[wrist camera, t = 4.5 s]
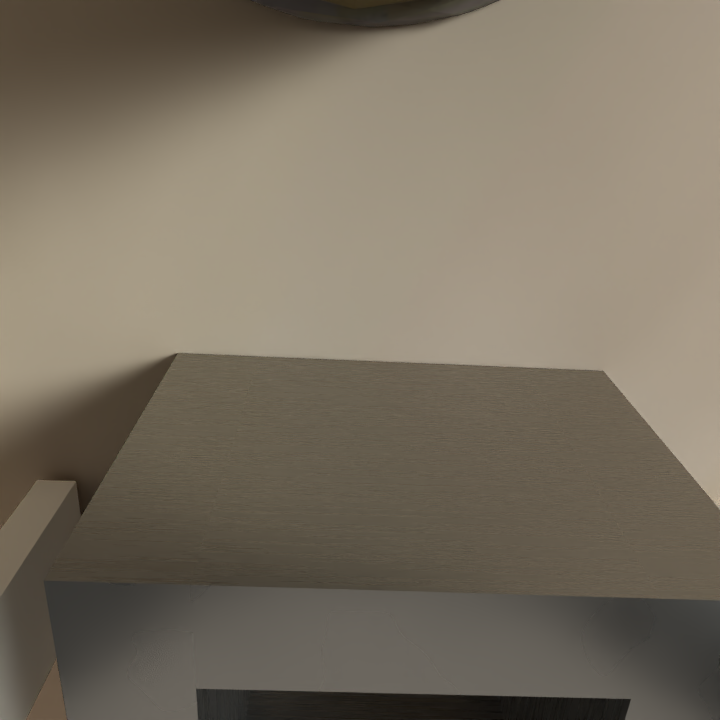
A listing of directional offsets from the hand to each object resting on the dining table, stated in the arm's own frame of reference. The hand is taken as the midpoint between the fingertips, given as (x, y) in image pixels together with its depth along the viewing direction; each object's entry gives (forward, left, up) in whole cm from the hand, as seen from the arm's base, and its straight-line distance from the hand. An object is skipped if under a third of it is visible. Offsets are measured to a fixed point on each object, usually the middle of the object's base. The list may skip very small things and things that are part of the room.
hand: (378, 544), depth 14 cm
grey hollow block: (0, 0, 0) cm, 0 cm away
